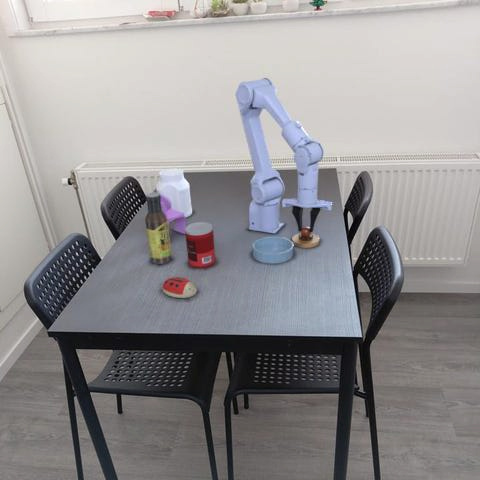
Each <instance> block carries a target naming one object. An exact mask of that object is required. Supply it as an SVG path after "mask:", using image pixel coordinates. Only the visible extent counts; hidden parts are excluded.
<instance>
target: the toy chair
mask: <svg viewBox="0 0 480 480" xmlns="http://www.w3.org/2000/svg"><path fill="white" fill-rule="evenodd" d="M160 195H161V200H160V201H161V207H162V211H163V212H164V214H165V215H166V217H167V220H168V226H169V224H170V223H171V222H173V221H174V220H175V224H174V227H173V231H175V232H178V233H180V234H183V235H185V228H186V227H187V225H186V218H185V216H184V213H182V212H179V211H176V210H174V209H171V201H170V200H169V199H168V198H167V197H166V196H164V195H163V194H160Z"/></svg>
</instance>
